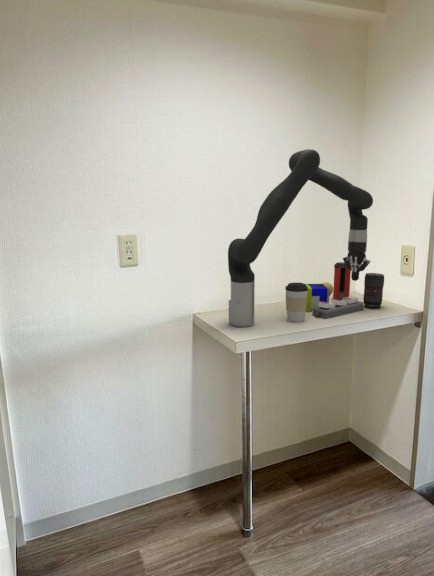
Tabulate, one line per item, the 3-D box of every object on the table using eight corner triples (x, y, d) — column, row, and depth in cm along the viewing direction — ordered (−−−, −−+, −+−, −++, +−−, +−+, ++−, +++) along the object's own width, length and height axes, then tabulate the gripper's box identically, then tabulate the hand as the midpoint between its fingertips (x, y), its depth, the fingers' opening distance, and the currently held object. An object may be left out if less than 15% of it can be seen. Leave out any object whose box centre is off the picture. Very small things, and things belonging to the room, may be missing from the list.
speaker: (332, 302, 198) (334, 264, 194) (332, 298, 205) (333, 261, 201) (350, 303, 196) (352, 264, 192) (348, 299, 203) (350, 262, 199)
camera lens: (383, 309, 184) (386, 276, 181) (364, 309, 185) (366, 275, 182) (380, 305, 192) (382, 272, 188) (361, 304, 193) (363, 272, 190)
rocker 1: (324, 308, 173) (325, 303, 172) (318, 306, 176) (319, 301, 175) (334, 308, 176) (335, 303, 176) (327, 306, 179) (328, 301, 179)
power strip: (322, 319, 170) (322, 311, 170) (309, 315, 176) (309, 308, 175) (363, 309, 184) (363, 302, 184) (350, 306, 190) (350, 299, 189)
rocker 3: (349, 303, 181) (349, 299, 180) (342, 302, 184) (342, 297, 183) (358, 302, 184) (358, 297, 184) (351, 300, 187) (351, 295, 187)
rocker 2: (337, 305, 177) (338, 300, 176) (330, 303, 180) (331, 298, 179) (346, 306, 180) (347, 301, 180) (339, 304, 183) (340, 299, 183)
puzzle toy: (326, 311, 183) (327, 288, 181) (303, 311, 183) (304, 288, 181) (321, 305, 192) (322, 283, 190) (299, 305, 193) (300, 283, 191)
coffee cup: (284, 315, 176) (285, 280, 173) (306, 316, 175) (307, 281, 172) (284, 322, 168) (285, 285, 164) (307, 323, 166) (309, 285, 163)
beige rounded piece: (314, 303, 196) (316, 281, 194) (325, 302, 199) (326, 281, 197) (324, 306, 190) (326, 284, 188) (335, 304, 193) (336, 283, 191)
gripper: (339, 239, 183) (337, 278, 186) (365, 242, 172) (362, 283, 176) (350, 238, 187) (348, 277, 191) (376, 241, 176) (373, 281, 180)
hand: (354, 280), depth 183 cm, fingers closed
